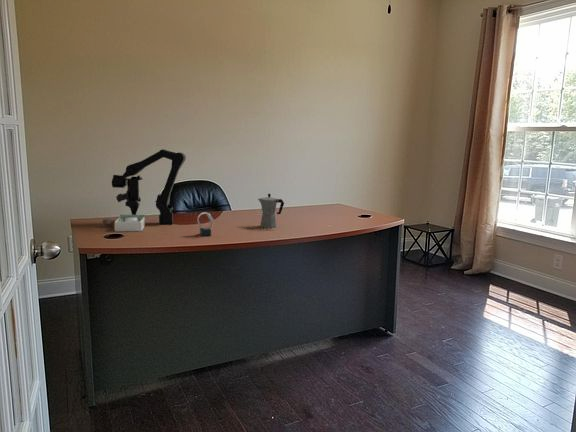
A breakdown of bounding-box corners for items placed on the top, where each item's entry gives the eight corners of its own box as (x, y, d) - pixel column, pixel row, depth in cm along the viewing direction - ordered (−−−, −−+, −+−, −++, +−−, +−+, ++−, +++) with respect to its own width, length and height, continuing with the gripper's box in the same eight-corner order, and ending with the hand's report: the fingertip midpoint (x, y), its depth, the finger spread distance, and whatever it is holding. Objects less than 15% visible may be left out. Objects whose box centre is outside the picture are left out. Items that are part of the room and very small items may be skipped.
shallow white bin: (144, 225, 237) (144, 216, 237) (141, 231, 222) (141, 222, 221) (119, 225, 235) (119, 216, 234) (114, 231, 219) (114, 222, 219)
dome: (135, 220, 236) (135, 216, 236) (139, 222, 231) (138, 218, 231) (124, 221, 233) (123, 217, 232) (127, 223, 228) (126, 219, 227)
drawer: (145, 222, 238) (144, 214, 238) (141, 228, 223) (141, 220, 222) (120, 222, 236) (120, 214, 235) (115, 228, 221) (114, 220, 220)
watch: (214, 235, 217) (215, 213, 216) (198, 236, 215) (198, 213, 213) (212, 233, 223) (212, 211, 221) (196, 234, 220) (196, 211, 218)
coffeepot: (253, 226, 244) (254, 193, 241) (261, 223, 252) (262, 191, 249) (279, 229, 238) (280, 195, 235) (286, 226, 246) (287, 194, 243)
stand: (111, 225, 233) (111, 218, 232) (110, 227, 229) (110, 220, 229) (103, 225, 232) (103, 218, 232) (102, 227, 228) (101, 220, 228)
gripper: (119, 186, 246) (119, 214, 249) (114, 190, 228) (115, 220, 231) (140, 186, 249) (141, 214, 252) (137, 190, 231) (138, 220, 234)
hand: (133, 217), depth 242 cm, fingers closed
